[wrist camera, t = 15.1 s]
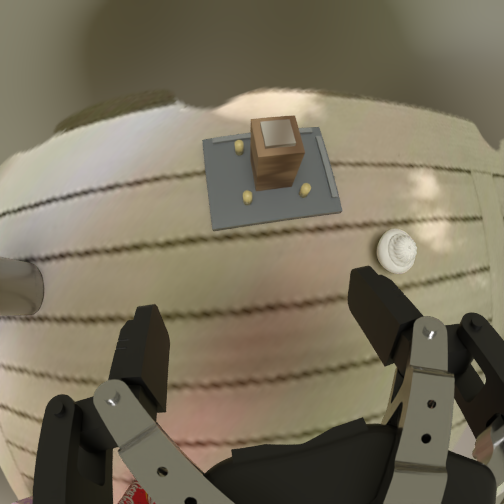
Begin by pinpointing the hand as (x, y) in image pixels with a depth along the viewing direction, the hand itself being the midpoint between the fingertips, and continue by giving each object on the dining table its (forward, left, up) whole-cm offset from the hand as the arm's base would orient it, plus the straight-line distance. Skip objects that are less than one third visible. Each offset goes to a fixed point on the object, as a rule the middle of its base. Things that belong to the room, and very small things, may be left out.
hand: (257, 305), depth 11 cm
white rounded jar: (+20, +2, -26) cm, 33 cm away
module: (+5, +16, -24) cm, 30 cm away
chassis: (+5, +16, -25) cm, 31 cm away
